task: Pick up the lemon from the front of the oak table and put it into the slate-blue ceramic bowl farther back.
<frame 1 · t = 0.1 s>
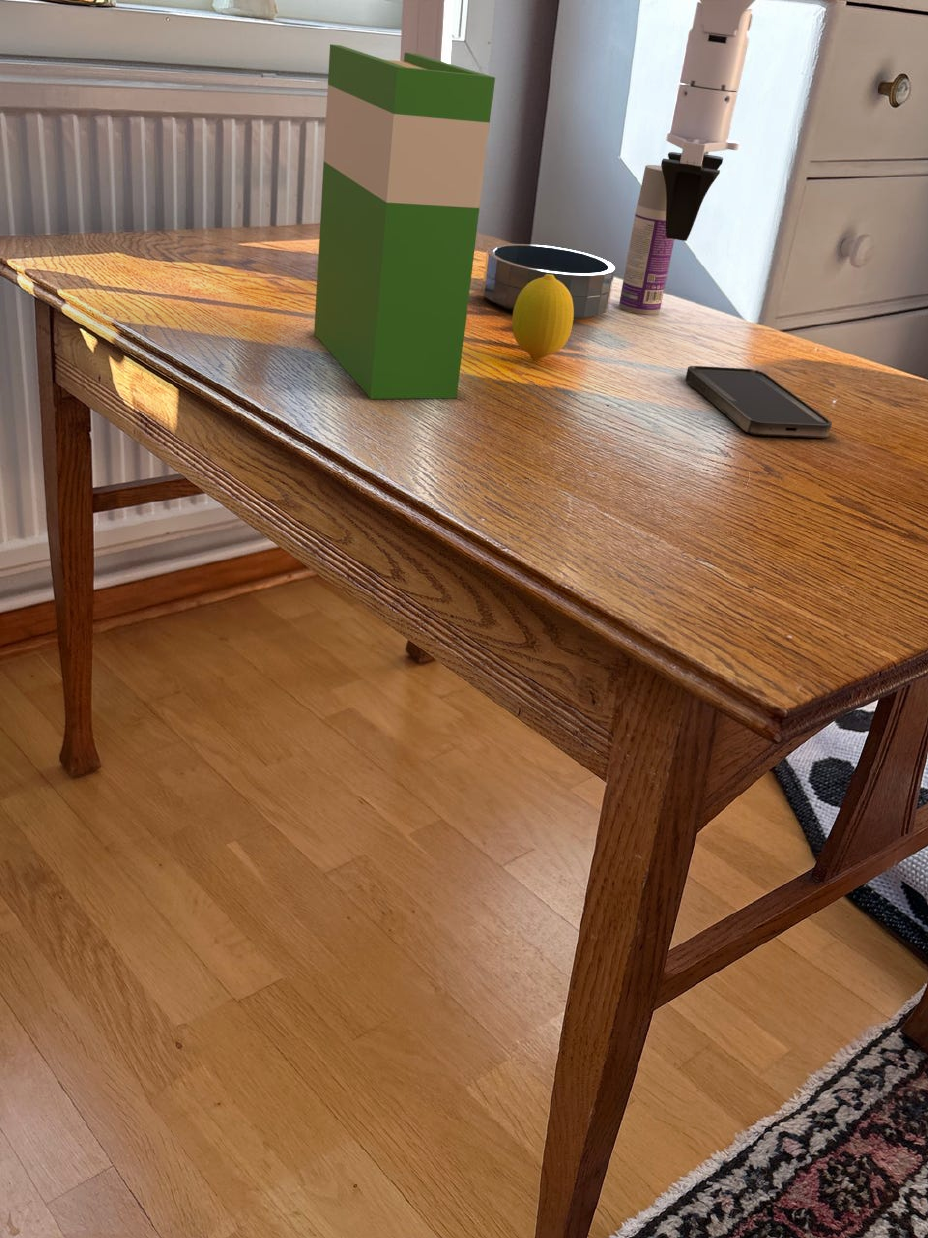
hand: (678, 232, 116), 10 cm above the table, tool pointing down, fingers open, 7 cm apart
bowl: (544, 305, 124), on the table
lemon: (536, 363, 105), on the table
container: (638, 310, 128), on the table
green cereal box: (381, 366, 99), on the table
phone: (752, 407, 100), on the table
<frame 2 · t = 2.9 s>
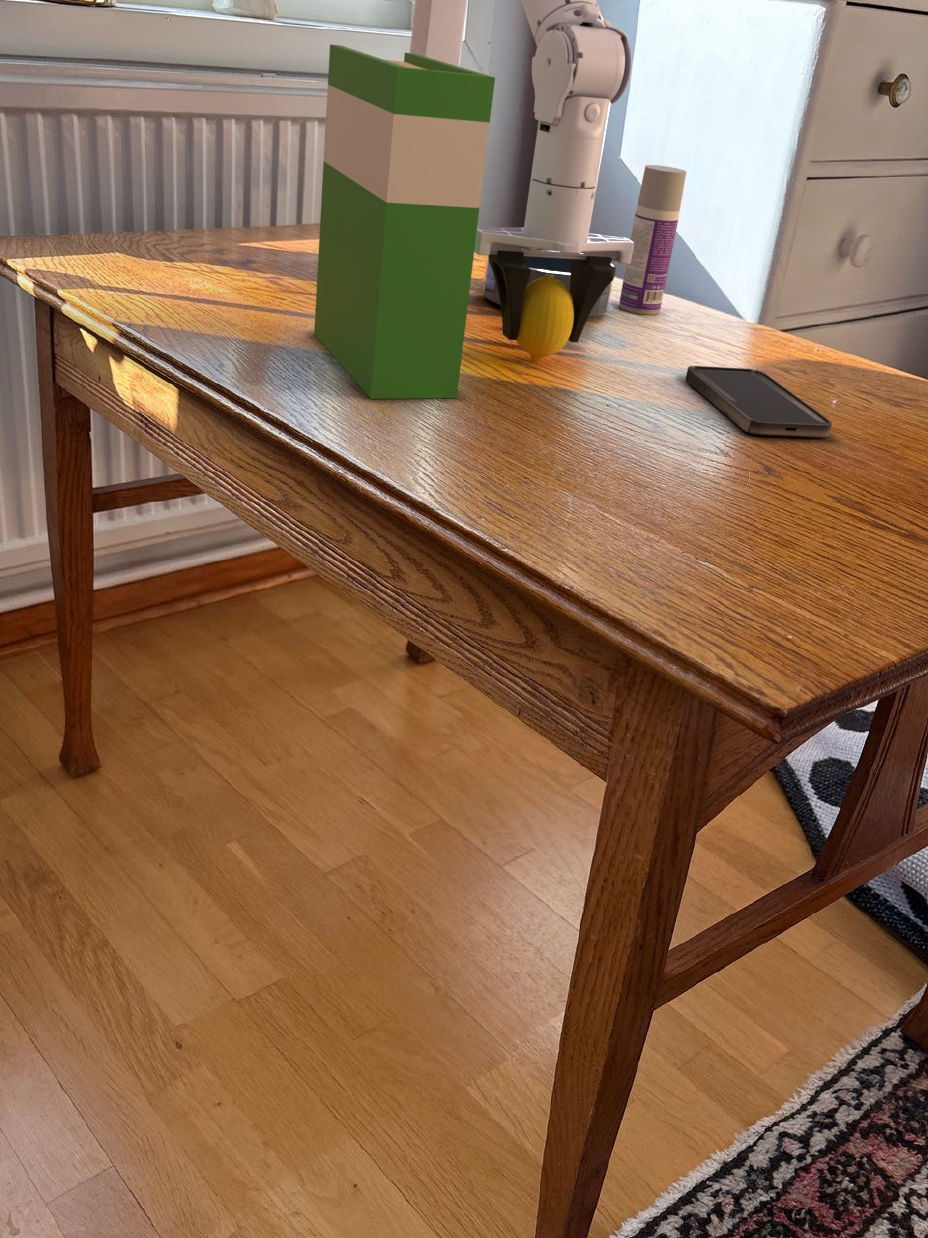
hand: (539, 338, 104), 2 cm above the table, tool pointing down, fingers closed on lemon, 5 cm apart
lemon: (536, 363, 105), on the table, touching gripper
everything else where it was.
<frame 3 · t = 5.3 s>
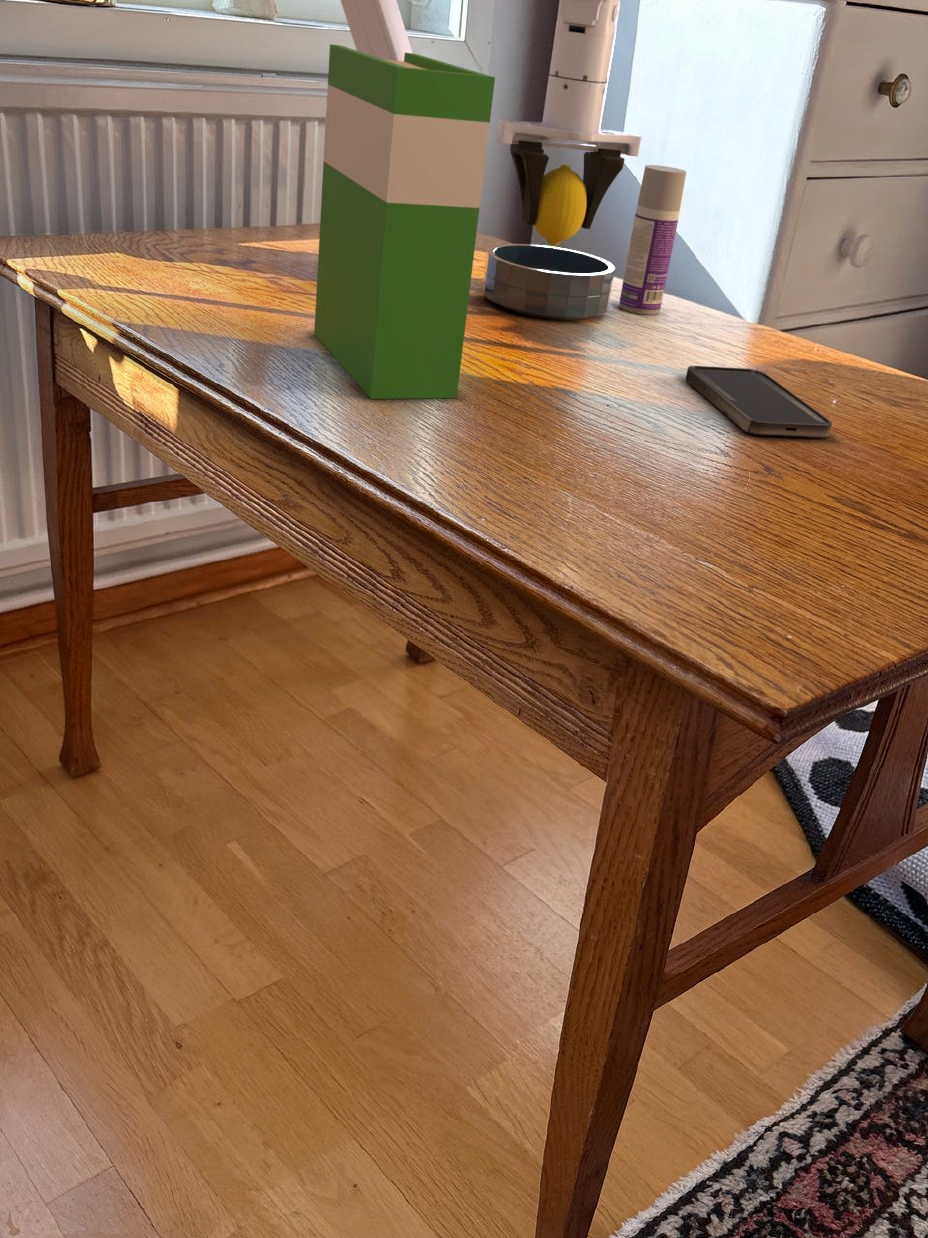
hand: (555, 224, 116), 9 cm above the table, tool pointing down, fingers closed on lemon, 5 cm apart
lemon: (552, 248, 117), point 7 cm above the table, touching gripper
everything else where it was.
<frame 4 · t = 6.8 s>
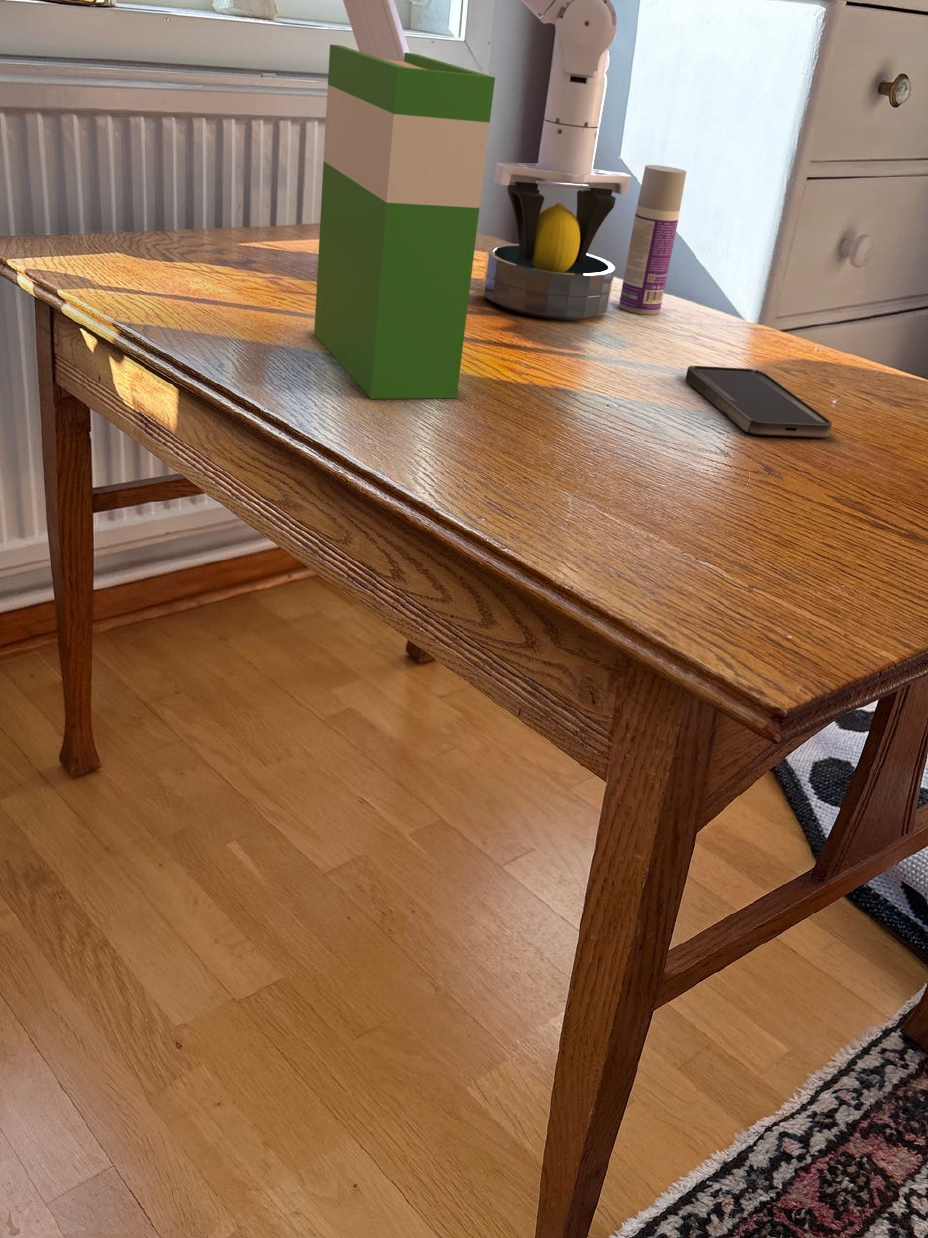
hand: (551, 259, 122), 5 cm above the table, tool pointing down, fingers closed on lemon, 5 cm apart
lemon: (548, 281, 123), point 3 cm above the table, touching gripper
everything else where it was.
when the fingers open (3 cm above the table, at t = 8.0 s): lemon stays where it is, resting on bowl.
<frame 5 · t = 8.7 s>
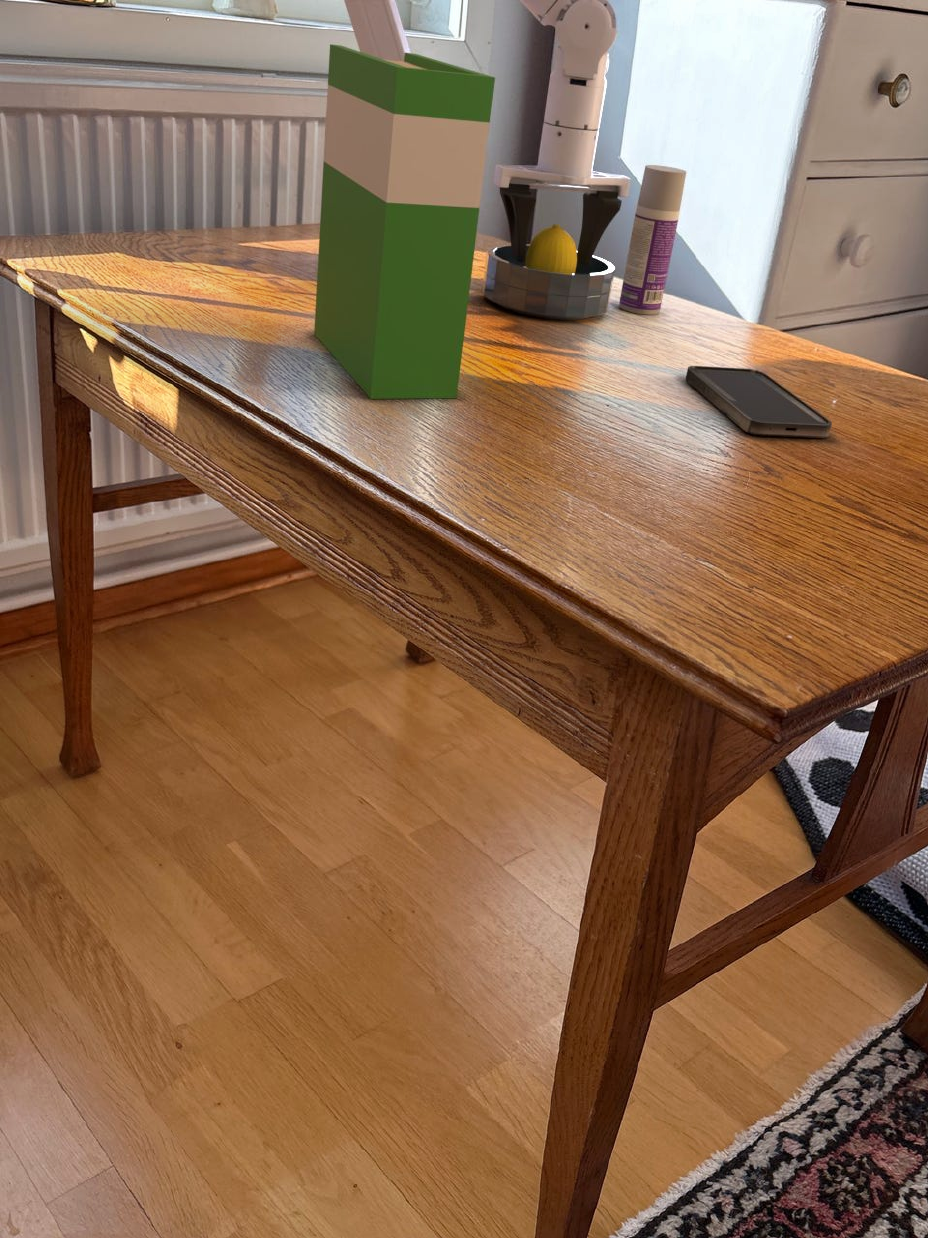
hand: (550, 261, 122), 5 cm above the table, tool pointing down, fingers open, 7 cm apart
lemon: (545, 301, 124), resting on bowl
everything else where it was.
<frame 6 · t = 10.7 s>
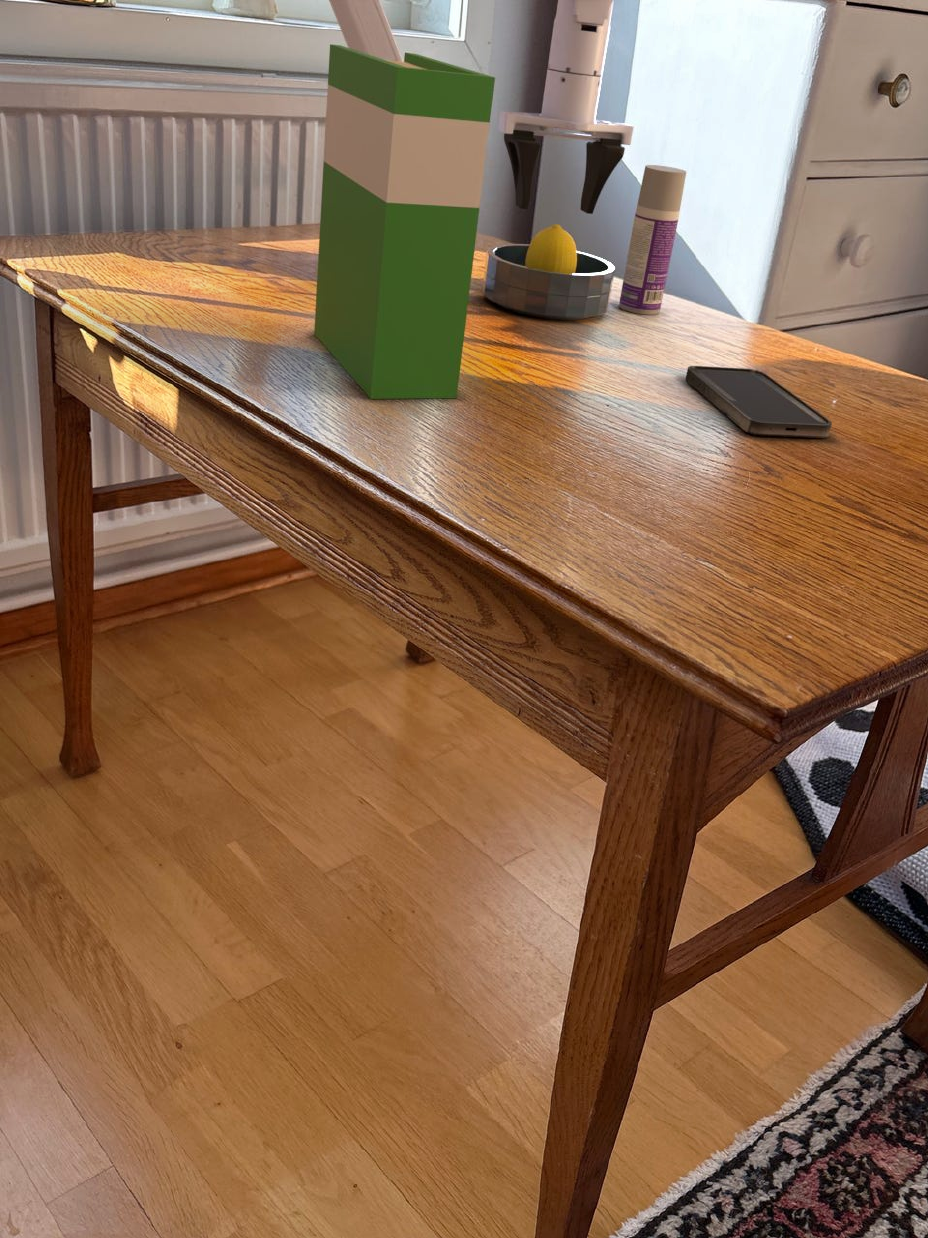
hand: (554, 209, 123), 9 cm above the table, tool pointing down, fingers open, 7 cm apart
nothing on the table moved.
at the end: lemon inside the target area in the bowl (0.1 cm from its centre), point 0.4 cm above the bowl's base; the gripper is holding nothing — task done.
